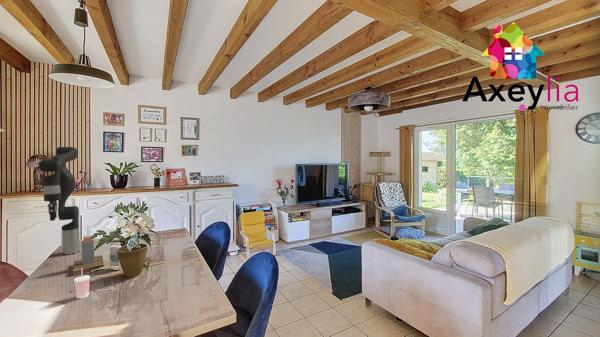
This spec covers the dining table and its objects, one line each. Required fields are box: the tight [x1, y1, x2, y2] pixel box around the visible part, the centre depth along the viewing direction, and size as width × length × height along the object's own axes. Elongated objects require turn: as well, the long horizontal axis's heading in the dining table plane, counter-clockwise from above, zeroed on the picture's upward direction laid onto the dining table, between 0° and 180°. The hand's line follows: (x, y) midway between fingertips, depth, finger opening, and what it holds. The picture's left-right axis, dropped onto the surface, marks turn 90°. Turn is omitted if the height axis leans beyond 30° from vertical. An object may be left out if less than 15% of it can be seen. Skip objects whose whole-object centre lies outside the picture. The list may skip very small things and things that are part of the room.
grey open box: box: [81, 238, 95, 265], centre depth 160 cm, size 6×6×13 cm
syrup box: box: [109, 243, 122, 267], centre depth 158 cm, size 6×6×14 cm
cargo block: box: [82, 235, 93, 243], centre depth 160 cm, size 4×4×4 cm
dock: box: [72, 254, 105, 276], centre depth 161 cm, size 20×14×3 cm
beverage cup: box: [73, 268, 91, 299], centre depth 126 cm, size 6×6×14 cm
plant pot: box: [117, 243, 148, 279], centre depth 149 cm, size 15×15×16 cm
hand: (53, 219), depth 159 cm, fingers open, 8 cm apart
